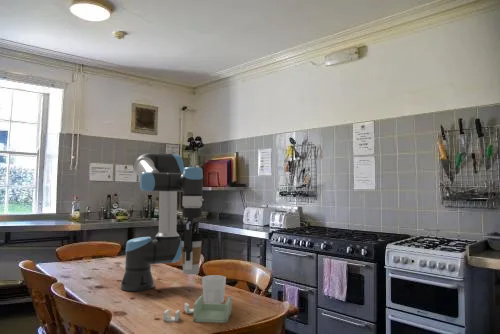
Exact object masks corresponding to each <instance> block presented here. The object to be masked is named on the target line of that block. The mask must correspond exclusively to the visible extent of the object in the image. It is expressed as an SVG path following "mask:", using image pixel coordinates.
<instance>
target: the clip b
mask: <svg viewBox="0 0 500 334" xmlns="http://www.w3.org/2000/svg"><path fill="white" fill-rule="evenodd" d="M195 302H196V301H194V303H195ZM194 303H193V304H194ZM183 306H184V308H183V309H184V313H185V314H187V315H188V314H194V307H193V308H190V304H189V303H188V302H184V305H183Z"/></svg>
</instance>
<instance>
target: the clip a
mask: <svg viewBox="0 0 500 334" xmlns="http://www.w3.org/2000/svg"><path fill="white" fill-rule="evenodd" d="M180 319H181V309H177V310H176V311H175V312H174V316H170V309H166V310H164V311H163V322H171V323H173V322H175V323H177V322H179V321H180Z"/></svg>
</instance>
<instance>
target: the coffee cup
mask: <svg viewBox="0 0 500 334" xmlns="http://www.w3.org/2000/svg"><path fill="white" fill-rule="evenodd" d="M191 236H192V235H191ZM180 238H181V241H182V246H181V248H182V256H181V260H182V261H181V262H182V273H183V275H197V274H199V273H200V262H201V255H202V247H203V246H202V241H203V240H204V239H203V234H201V233H199V234H197V235H193V239H192V252H193V258H192V270H186V269H185V252H183V248H184V232H181V234H180ZM187 248H189V247H187Z"/></svg>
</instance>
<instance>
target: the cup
mask: <svg viewBox="0 0 500 334" xmlns="http://www.w3.org/2000/svg"><path fill="white" fill-rule="evenodd" d="M226 284H227V277H226V276H224V275H218V274H217V275H216V274H211V275H205V276H202V277H201V285H202V295H203V303H211V304H223V303H225V296H226V295H225V294H226V293H225V292H226Z"/></svg>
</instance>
